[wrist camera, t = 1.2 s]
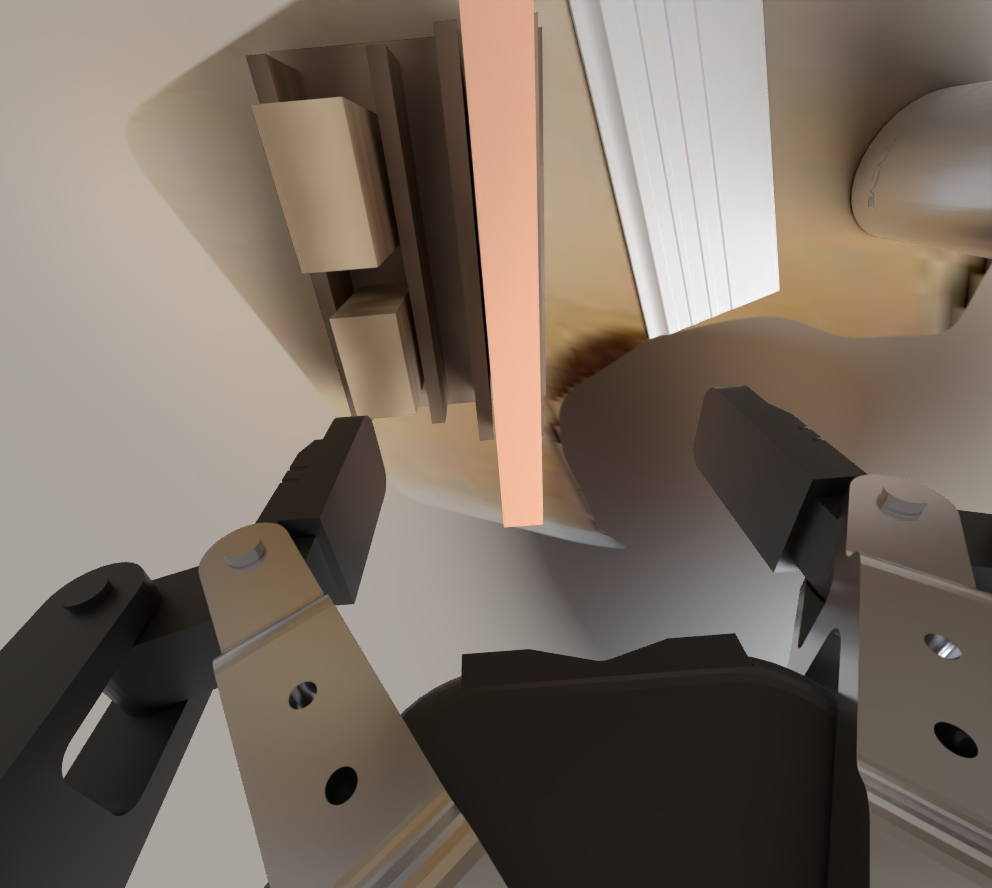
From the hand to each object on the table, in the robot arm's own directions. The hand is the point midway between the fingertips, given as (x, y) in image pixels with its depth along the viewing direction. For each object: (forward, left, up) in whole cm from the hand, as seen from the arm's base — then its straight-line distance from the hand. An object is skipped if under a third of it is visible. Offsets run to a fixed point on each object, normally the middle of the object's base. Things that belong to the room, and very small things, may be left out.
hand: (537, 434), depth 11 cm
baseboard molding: (-12, -8, -28) cm, 31 cm away
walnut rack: (+4, 0, -27) cm, 27 cm away
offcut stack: (+9, 0, -25) cm, 27 cm away
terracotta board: (0, 0, -25) cm, 25 cm away
